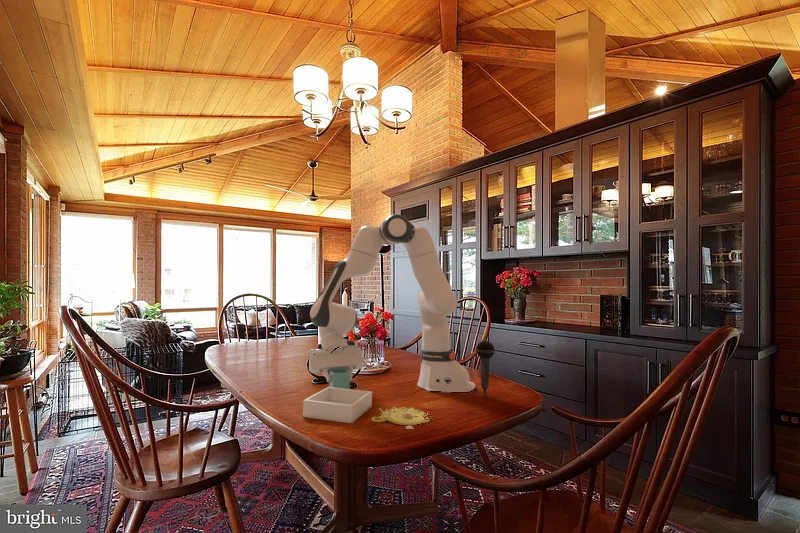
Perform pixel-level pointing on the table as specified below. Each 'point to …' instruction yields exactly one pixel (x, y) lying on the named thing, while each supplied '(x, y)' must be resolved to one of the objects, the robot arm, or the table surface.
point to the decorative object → (402, 416)
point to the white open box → (337, 404)
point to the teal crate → (340, 378)
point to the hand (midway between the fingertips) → (340, 380)
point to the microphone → (485, 362)
